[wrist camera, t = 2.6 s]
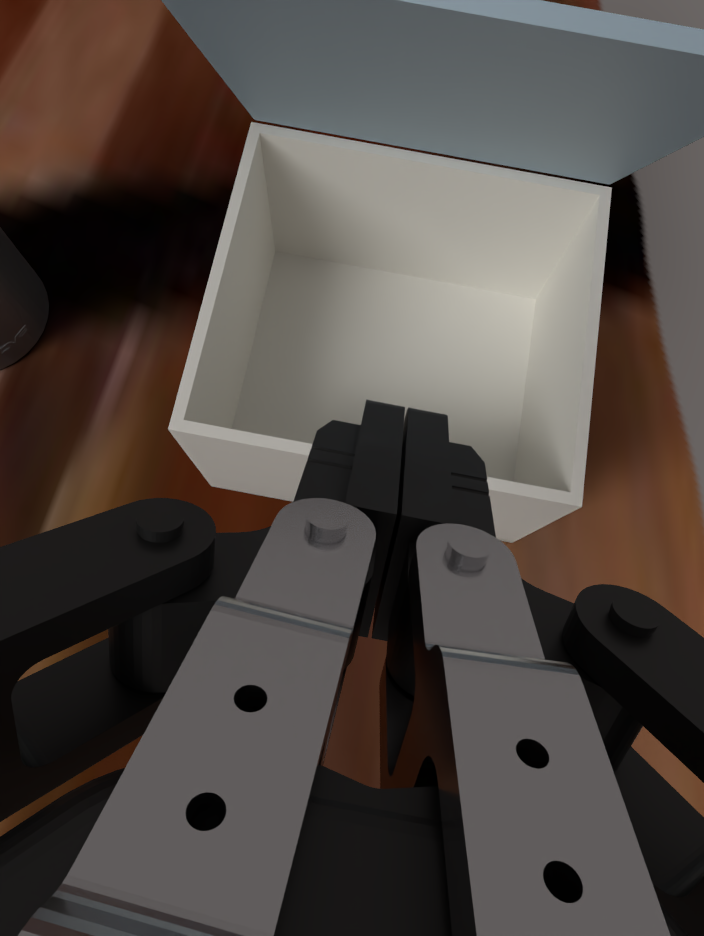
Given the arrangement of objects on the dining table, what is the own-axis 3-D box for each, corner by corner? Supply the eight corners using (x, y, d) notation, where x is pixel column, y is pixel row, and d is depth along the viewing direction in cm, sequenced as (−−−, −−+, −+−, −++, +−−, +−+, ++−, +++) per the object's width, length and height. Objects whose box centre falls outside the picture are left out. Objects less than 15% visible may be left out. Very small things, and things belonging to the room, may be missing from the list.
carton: (512, 542, 42) (581, 506, 31) (211, 486, 43) (168, 429, 31) (541, 298, 47) (611, 187, 35) (269, 248, 47) (251, 121, 36)
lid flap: (822, 76, 18) (830, 52, 18) (123, -49, 18) (124, -75, 18) (609, 184, 35) (612, 172, 35) (254, 119, 35) (255, 107, 35)
